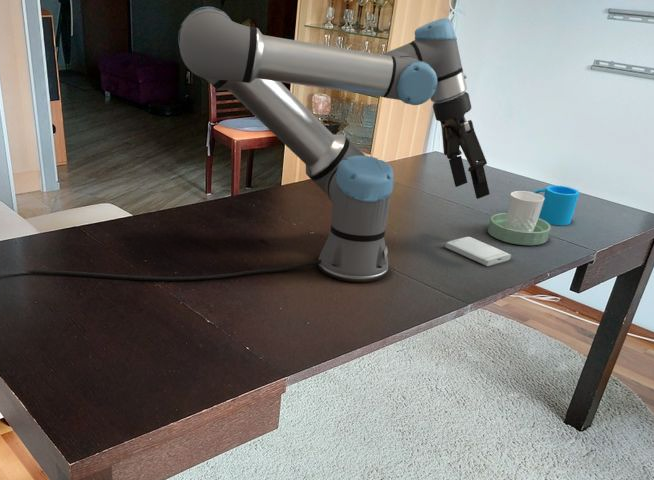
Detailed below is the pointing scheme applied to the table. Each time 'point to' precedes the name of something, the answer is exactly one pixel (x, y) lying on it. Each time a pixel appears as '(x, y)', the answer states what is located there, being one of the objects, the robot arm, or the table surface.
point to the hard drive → (478, 251)
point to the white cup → (523, 210)
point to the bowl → (518, 237)
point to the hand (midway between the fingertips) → (471, 190)
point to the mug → (558, 204)
